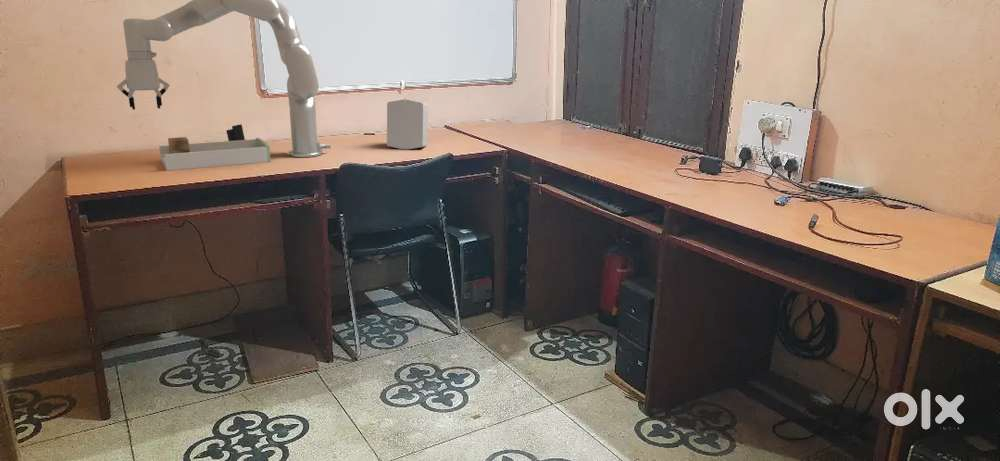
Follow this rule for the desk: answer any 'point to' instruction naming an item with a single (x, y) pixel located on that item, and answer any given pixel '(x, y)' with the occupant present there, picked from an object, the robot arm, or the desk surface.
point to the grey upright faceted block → (406, 124)
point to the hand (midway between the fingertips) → (146, 108)
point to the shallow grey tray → (217, 154)
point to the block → (178, 145)
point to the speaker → (235, 133)
